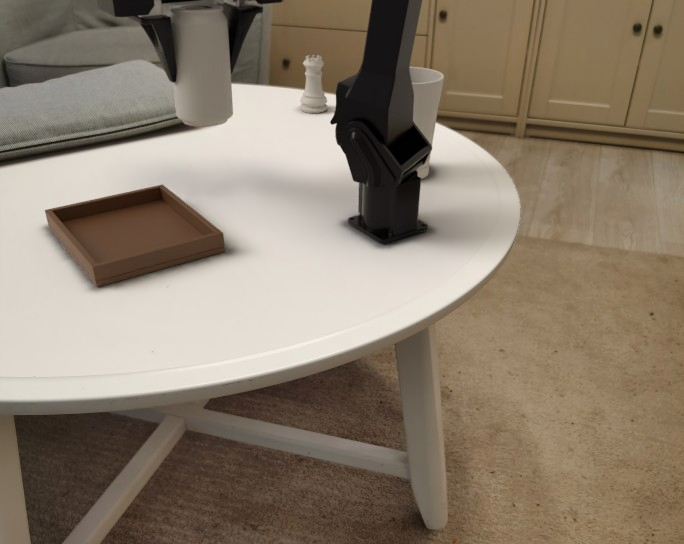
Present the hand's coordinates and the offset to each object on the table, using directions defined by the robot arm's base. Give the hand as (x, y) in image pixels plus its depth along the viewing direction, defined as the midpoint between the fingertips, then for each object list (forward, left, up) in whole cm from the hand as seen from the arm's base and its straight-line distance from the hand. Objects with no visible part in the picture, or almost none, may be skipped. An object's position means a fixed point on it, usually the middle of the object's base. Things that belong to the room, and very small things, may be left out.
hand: (201, 77), depth 78 cm
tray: (-8, +13, -13) cm, 20 cm away
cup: (-8, -23, -13) cm, 28 cm away
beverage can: (0, 0, -5) cm, 5 cm away
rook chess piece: (+21, -28, -13) cm, 37 cm away
